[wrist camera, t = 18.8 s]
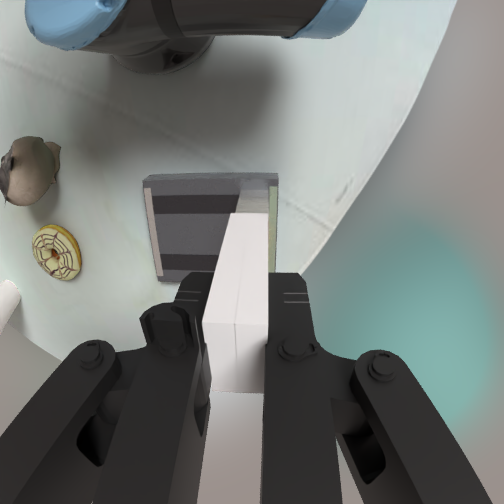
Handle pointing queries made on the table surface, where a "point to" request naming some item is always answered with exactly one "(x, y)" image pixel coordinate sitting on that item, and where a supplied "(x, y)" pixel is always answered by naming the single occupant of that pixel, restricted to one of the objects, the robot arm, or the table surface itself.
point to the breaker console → (203, 217)
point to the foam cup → (7, 301)
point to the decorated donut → (66, 247)
